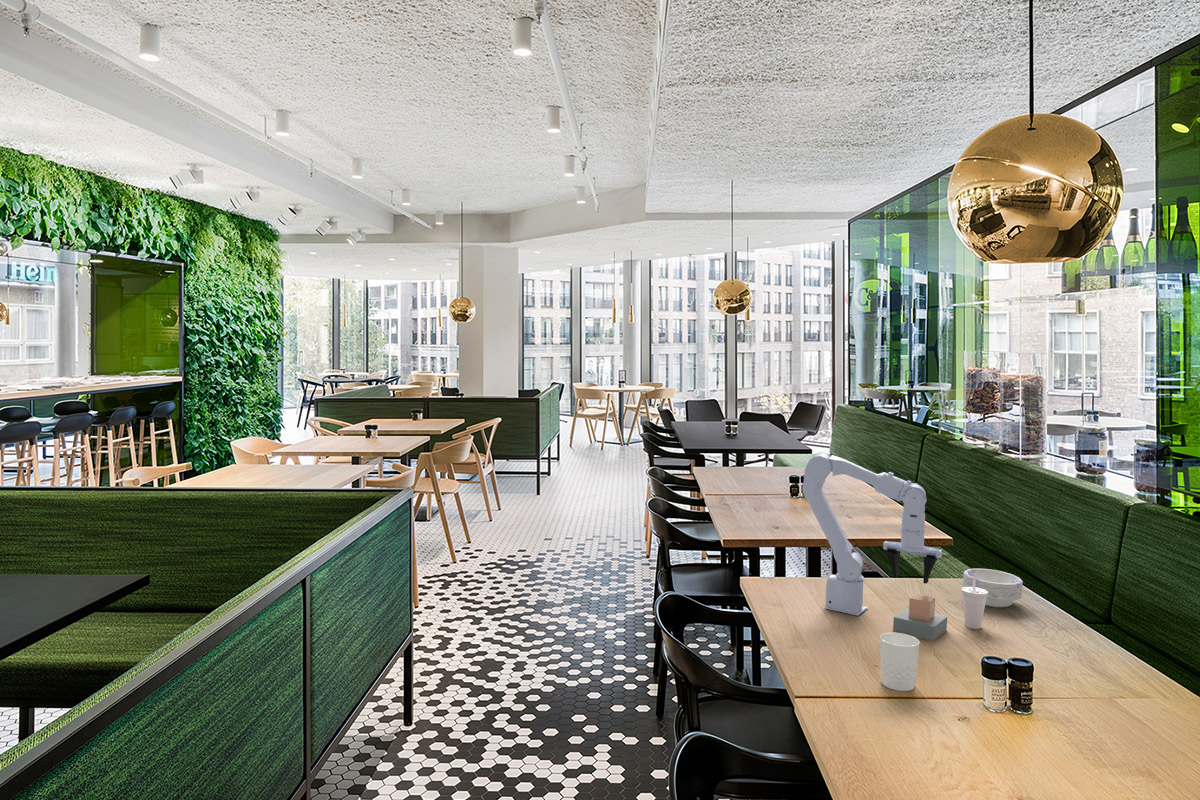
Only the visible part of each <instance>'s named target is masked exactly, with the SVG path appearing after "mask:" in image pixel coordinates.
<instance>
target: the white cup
mask: <svg viewBox="0 0 1200 800" xmlns="http://www.w3.org/2000/svg"><path fill="white" fill-rule="evenodd" d="M920 642H921V641H920V640H919V638H918V637H916V636H912V635H908V634H904V633H900V632H885V633H882V634H880V635H879V646H880V647H879V649H880V652H879V654H880V655H879V657H880V658H879V660H880V661H879V662H880V665H879V666H880V682H881V684H882V686H884V687H886V688H887V689H890V690H893V691H898V692H910V691H913V690H914V689H915V688H916V680H917V679H916V678H917V673H918V666H919V665H918V664H919V653H920Z"/></svg>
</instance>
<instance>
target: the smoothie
mask: <svg viewBox="0 0 1200 800" xmlns="http://www.w3.org/2000/svg"><path fill="white" fill-rule="evenodd" d="M975 581H976V573H973V587H963V586H962V587H961V590H960V593H961V594H962V604H963V617H964V626H965V627H966V628H968V629H973V630H979V629H981V628H982V623H983V619H984V618H983V617H984V613H985V608H986V606H985V603H986V598H987V597H988V591H986V590H984V589H982V588H977V587H975Z"/></svg>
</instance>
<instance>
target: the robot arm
mask: <svg viewBox="0 0 1200 800" xmlns="http://www.w3.org/2000/svg"><path fill="white" fill-rule="evenodd" d="M830 473H832V476H834V477H835V476H841V475H846V476H848V477H851V478H854V479H856V480H859V481H861V482H864V483H866V484H869V485H871V486H873V488H874V491H875V492H877V493H879V494H881V495H884V496H886V497H888V498H890V499H893V500H896V501H897V502H903V508H902V509H903V510H902V512H901V528H900V542H899V541H898V542H897V541H887V540H885V541H883V546H882V547H883V550H885V551H886V552H885V553H886V555H885V556H886V557H887V558H888V562H889V563H890V566H891V569H892V574H893V578H894V579H897V578H898V577H899V573H900V570H899V569H900V557H901V553H907V554H912V555H913V554H914V555H918V556H919V555H920V556H925V557H923V579H922V580H923V584H928V583H929V579H930V575H931V573H932V570H933V568H934V566H935V564H936V562H937V560H938V559H941V558H942V556H943V549H939V548H935V547H930V546H925V529H926V527H925V526H926V525H925V523H926V514H925V511H926V506H925V505H926V504H927V500H928V499H927V495H926V494H927V493H926V490H925V489H924V488H923V487H922V486H921V485H920V484H918V483H917V482H915V483H914V482H912V480H909V479H908V480H905V479H902V478H899V477H897V476H894V475H895V474H894V472H892V471H889V472H884V471H883V472H880V473H875V472H874V471H871V470H869V469H867V468H864V467H863V466H860V465H858V464H856V463H854V462H851V461H849V460H847V459H845V458H843V457H839V456H836V455H833V454H831V455H830V454H829V453H827V452H824V451H823V452H822V451H820V452H818V453H815V454H814V455H813V456H812V457H811V458H810V459H809V460H808V462H807V464H806V466H805V468H804V477H803V484H802V492H803V495H804V497H805V499H806V501H807V503H808V504H809V506H810V509H811V510H812V513H813V514H814V516H815V518H816V520H817V521H818V524H819V526H820V528H821V530H822V532H823V534H824V536H825V537H826V539H827V542H828V543H829V546H830V547H831V550H832V554H833V557H834V560H835V562H836V571H837V572H836V574H830V575H828V577H827V581H826V583H825V584H826V585H825V606H824V609H826V610H830V611H835V612H839V613H840V612H841V613H844V614H848V615H853V616H860V615H862V613H864V612H865V611H866V610H868V606H865V605H863V602H864V601H863V600H864V579H865V578H864V576H863V575H862V569H863V565H864V559H863V557H862V555H861V554H860V552H858V551H857V550H855V548H854V546H853V545H852V543H851V542H850V541H849V540H848V538H847V536H846V534H845V532H844V530H843V528H842V527H841V524H840V522H839V520H838V518H837V516H836V515H835V513H834V511H833V509H832V506H831V505H830V503H829V501H828V499H827V497H826V495H825V494H824V491H823V487H824V484H825V482H826V479H827V478H828V476H829V475H830Z"/></svg>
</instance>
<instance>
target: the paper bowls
mask: <svg viewBox="0 0 1200 800" xmlns="http://www.w3.org/2000/svg"><path fill="white" fill-rule="evenodd" d="M973 573H976V581H975V587H977V588H982V589H984V590H986V591H988V597H987V598H986V603H985V607H992V608H1007V607H1008V608H1009V607H1010V606H1012V604H1013V603H1014V602H1015V601H1017V600H1020V599H1021V598H1022V595H1023V588H1024V587H1023V585H1024V584H1023V583H1024V581H1023V580H1022V579H1021V578H1020V577H1019V576H1017V575H1015V574H1012V573H1008V572H1005V571H1001V570H997V569H989V568H969V569H966V570H964V571H963V578H962V579H963V580H962V588H963V587H973Z"/></svg>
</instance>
